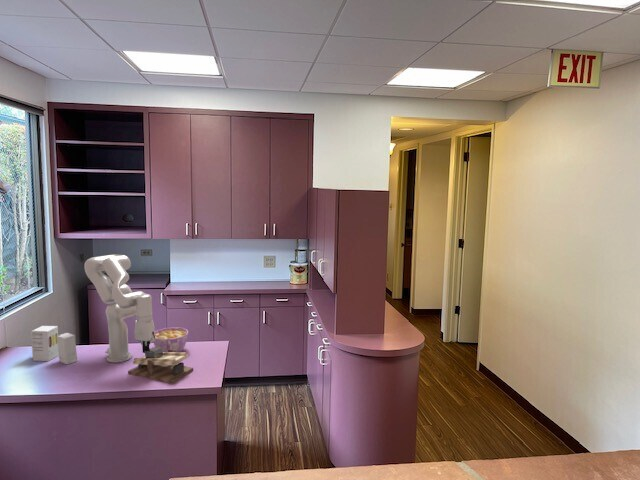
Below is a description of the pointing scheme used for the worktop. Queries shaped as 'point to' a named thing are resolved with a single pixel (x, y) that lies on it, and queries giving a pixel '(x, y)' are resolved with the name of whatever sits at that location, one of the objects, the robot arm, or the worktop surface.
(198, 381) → the worktop surface
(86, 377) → the worktop surface
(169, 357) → the cream curved piece
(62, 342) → the skincare box
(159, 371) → the stand
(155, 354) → the block
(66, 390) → the worktop surface
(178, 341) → the bowl of food
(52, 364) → the worktop surface
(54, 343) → the supplement box
